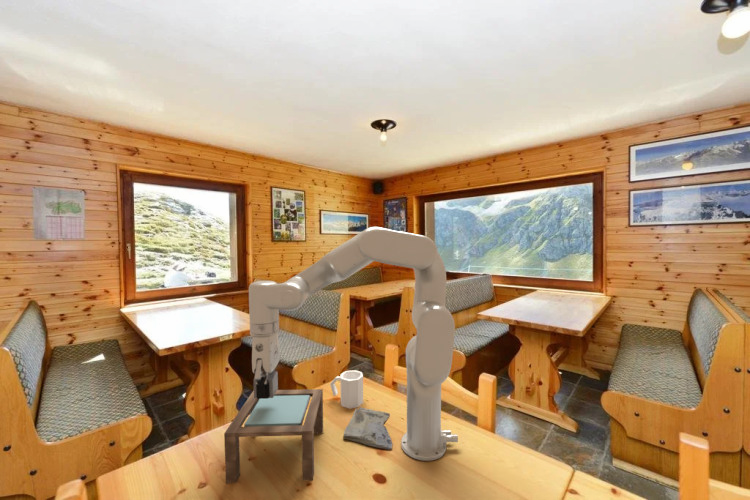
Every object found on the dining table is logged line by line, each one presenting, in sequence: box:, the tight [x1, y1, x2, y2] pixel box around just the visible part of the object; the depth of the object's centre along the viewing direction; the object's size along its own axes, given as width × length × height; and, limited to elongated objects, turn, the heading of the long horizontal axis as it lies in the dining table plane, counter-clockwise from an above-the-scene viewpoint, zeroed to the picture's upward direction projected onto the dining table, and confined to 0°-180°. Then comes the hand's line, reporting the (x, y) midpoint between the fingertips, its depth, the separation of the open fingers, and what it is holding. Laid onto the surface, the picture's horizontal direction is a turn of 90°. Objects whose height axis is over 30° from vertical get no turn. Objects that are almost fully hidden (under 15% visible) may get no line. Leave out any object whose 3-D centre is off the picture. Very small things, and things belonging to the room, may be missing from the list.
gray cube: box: [253, 370, 279, 398], centre depth 89 cm, size 5×5×5 cm
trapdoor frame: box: [223, 388, 324, 484], centre depth 90 cm, size 21×21×12 cm
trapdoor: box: [243, 395, 312, 427], centre depth 90 cm, size 14×14×1 cm
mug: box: [329, 369, 364, 410], centre depth 117 cm, size 12×9×10 cm
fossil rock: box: [342, 406, 393, 451], centre depth 101 cm, size 18×15×2 cm
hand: (266, 391), depth 89 cm, fingers closed on gray cube, 5 cm apart
